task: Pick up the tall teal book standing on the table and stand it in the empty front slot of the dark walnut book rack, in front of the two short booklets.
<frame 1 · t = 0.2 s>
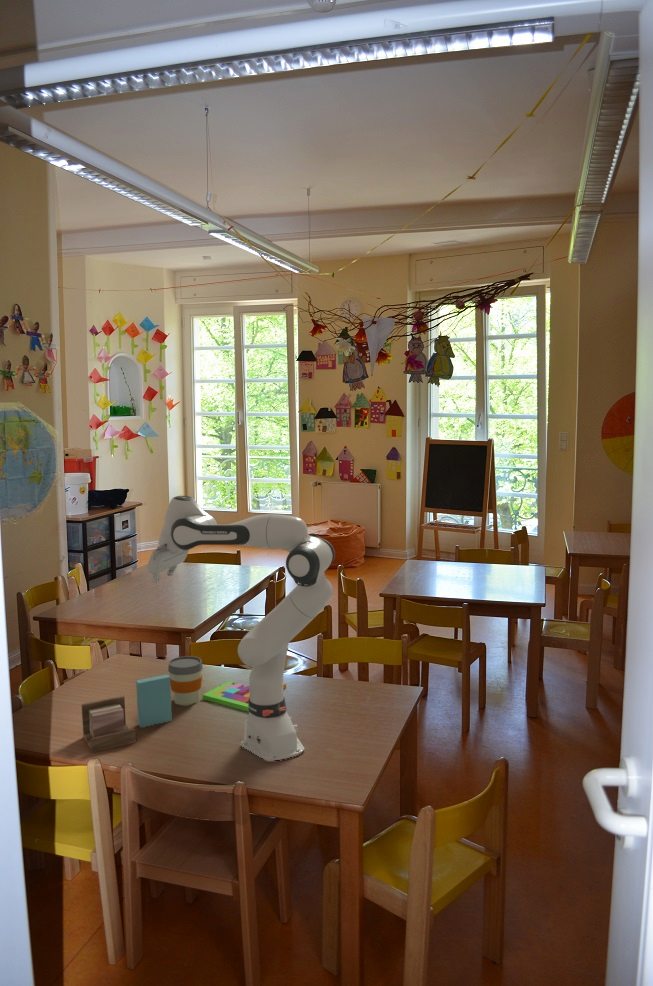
hand: (162, 578, 260), 51 cm above the table, tool tilted 20°, fingers open, 8 cm apart
book rack: (109, 739, 255), on the table
teal book: (155, 722, 268), on the table
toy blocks: (247, 695, 293), on the table
reusable coffee cup: (186, 701, 287), on the table
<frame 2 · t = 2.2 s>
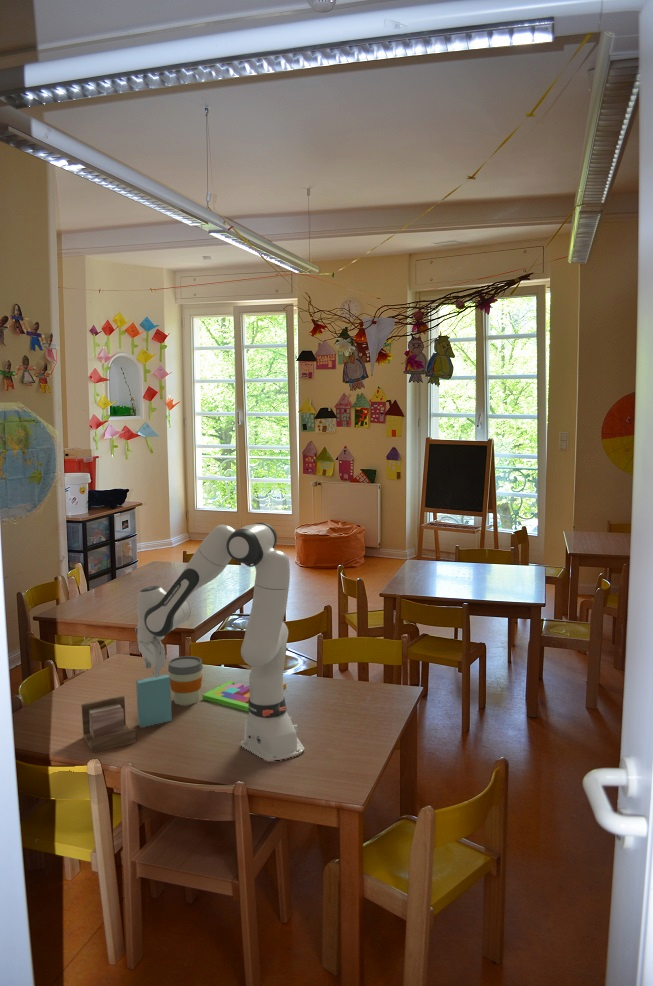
hand: (152, 671, 265), 18 cm above the table, tool pointing down, fingers open, 8 cm apart
nothing on the table moved.
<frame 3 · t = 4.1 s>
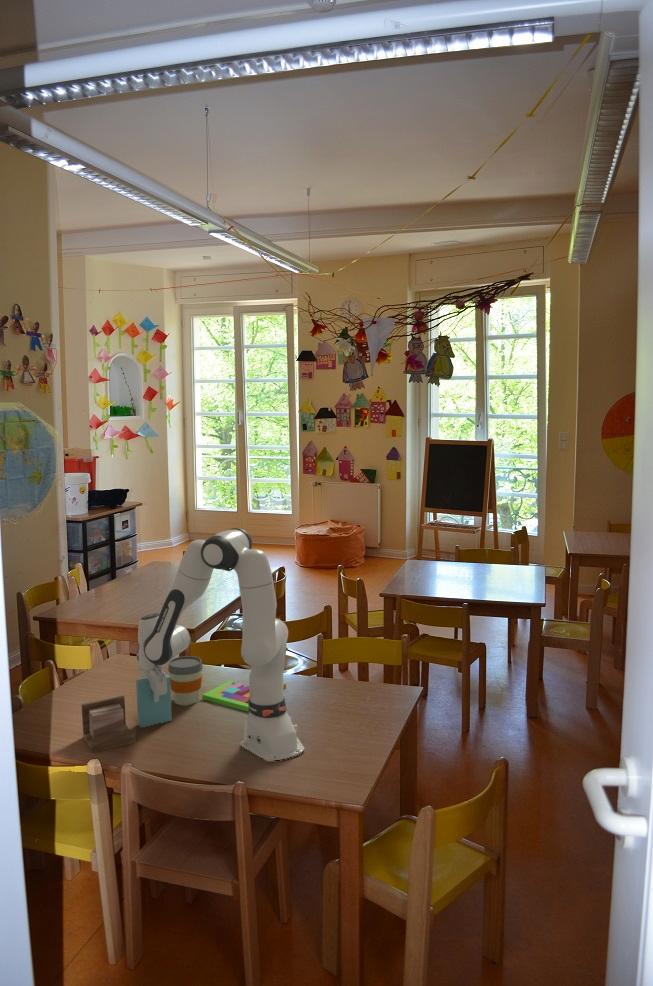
hand: (154, 698, 267), 9 cm above the table, tool pointing down, fingers closed on teal book, 3 cm apart
teal book: (155, 722, 268), on the table, touching gripper
everything else where it was.
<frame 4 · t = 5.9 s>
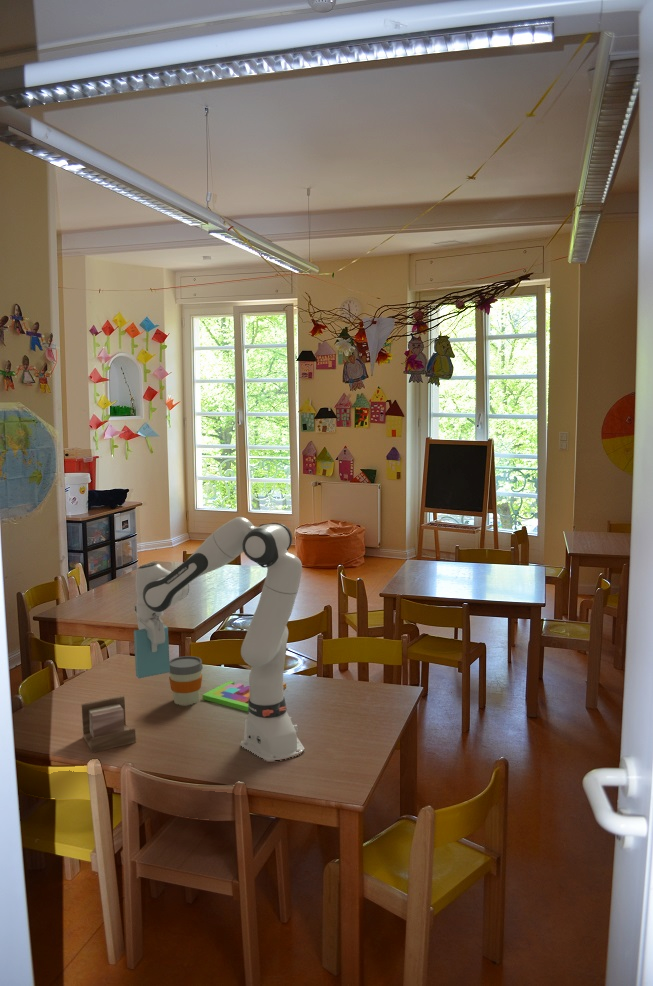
hand: (152, 649, 264), 26 cm above the table, tool pointing down, fingers closed on teal book, 3 cm apart
teal book: (153, 674, 265), point 18 cm above the table, touching gripper
everything else where it was.
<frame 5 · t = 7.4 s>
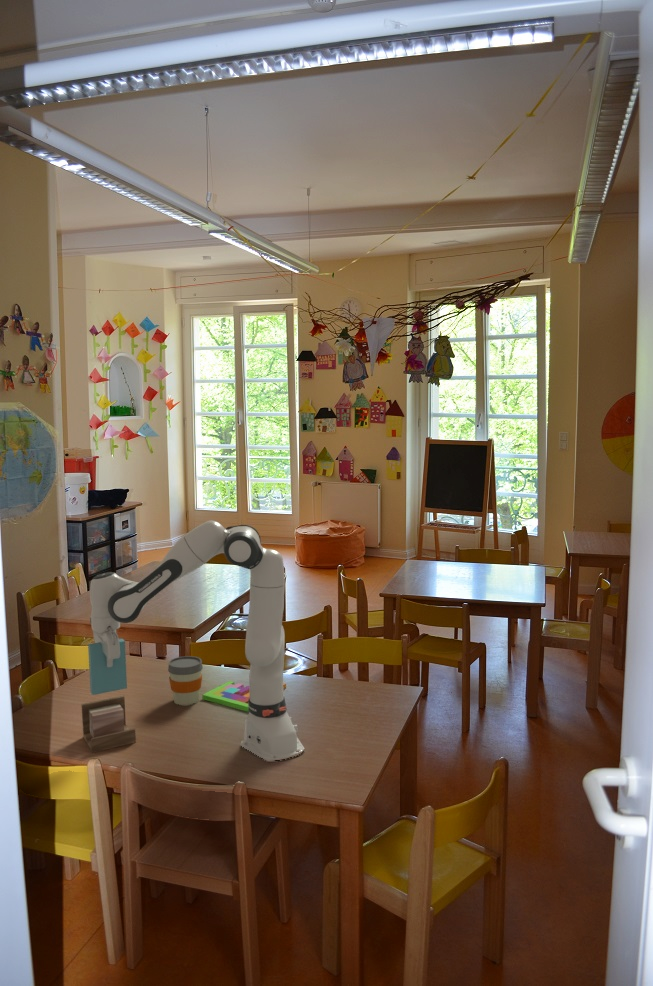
hand: (107, 664, 249), 27 cm above the table, tool pointing down, fingers closed on teal book, 3 cm apart
teal book: (108, 690, 250), point 18 cm above the table, touching gripper
everything else where it was.
when the fingers open (12 cm above the table, at t = 10.2 s): teal book drops 1 cm, resting on book rack.
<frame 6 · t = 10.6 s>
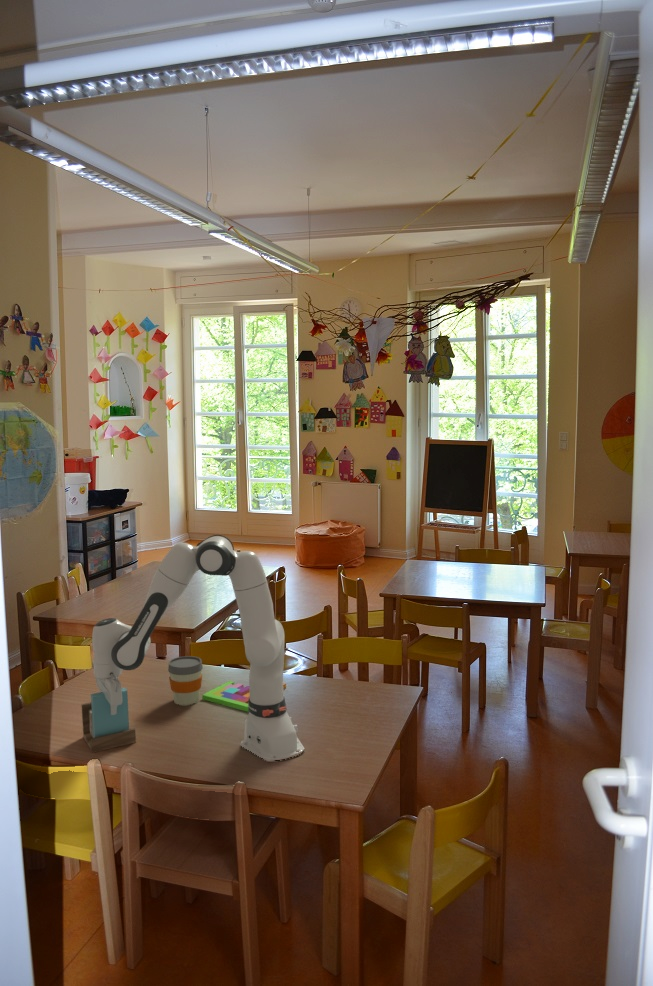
hand: (110, 709, 251), 12 cm above the table, tool pointing down, fingers open, 7 cm apart
teal book: (111, 739, 252), point 1 cm above the table, touching book rack
everything else where it was.
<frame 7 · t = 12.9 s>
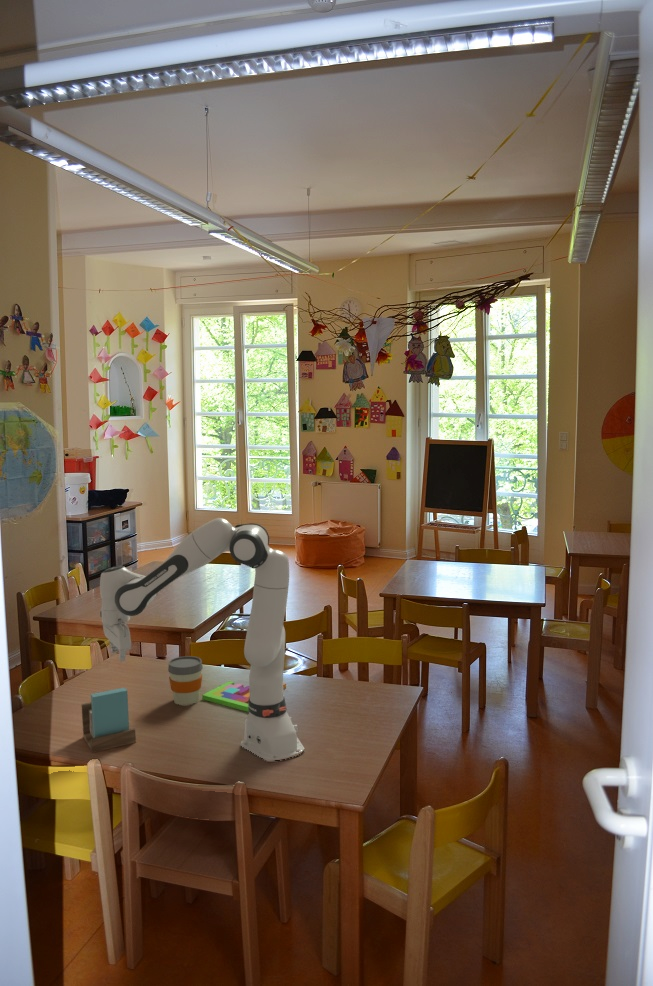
hand: (118, 656, 253), 28 cm above the table, tool pointing down, fingers open, 8 cm apart
nothing on the table moved.
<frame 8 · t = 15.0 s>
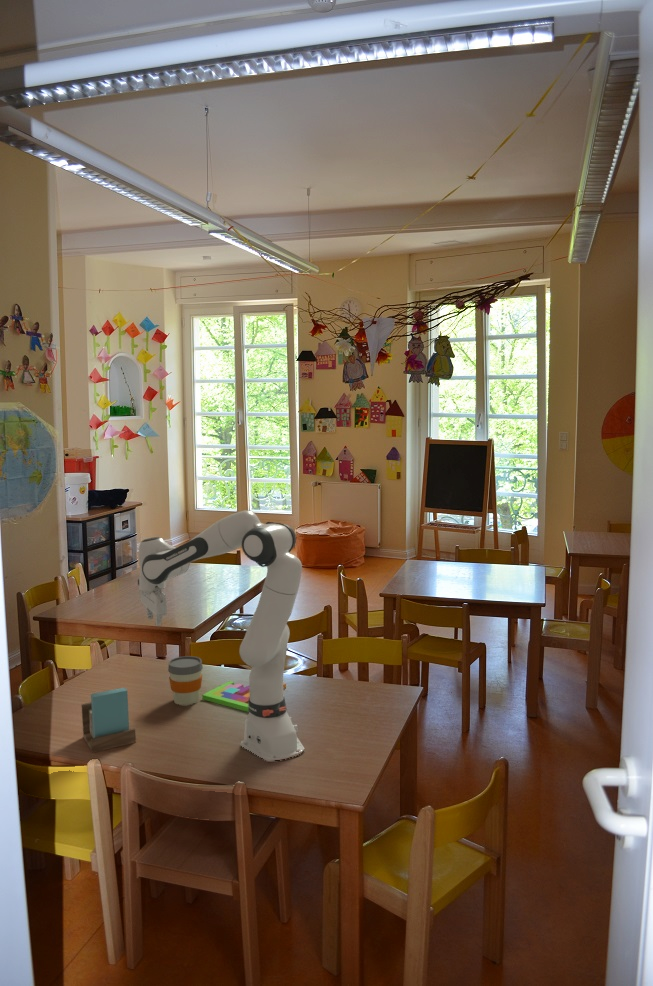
hand: (154, 621, 270), 34 cm above the table, tool pointing down, fingers open, 8 cm apart
nothing on the table moved.
at the end: teal book 0.0 cm from the target spot on the book rack, point 1.5 cm above the book rack's base; teal book tilted 0°; the gripper is holding nothing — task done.
